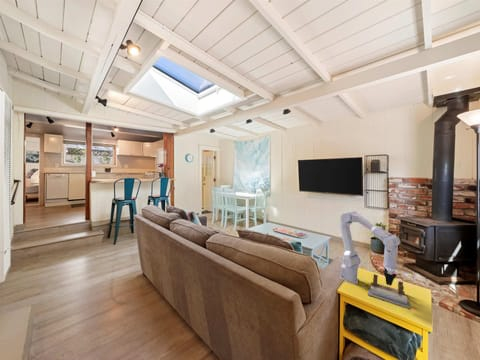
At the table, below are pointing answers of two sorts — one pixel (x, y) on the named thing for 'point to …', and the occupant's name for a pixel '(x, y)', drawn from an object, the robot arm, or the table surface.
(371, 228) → the robot arm
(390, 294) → the rail
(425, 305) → the table surface
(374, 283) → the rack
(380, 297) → the mat
